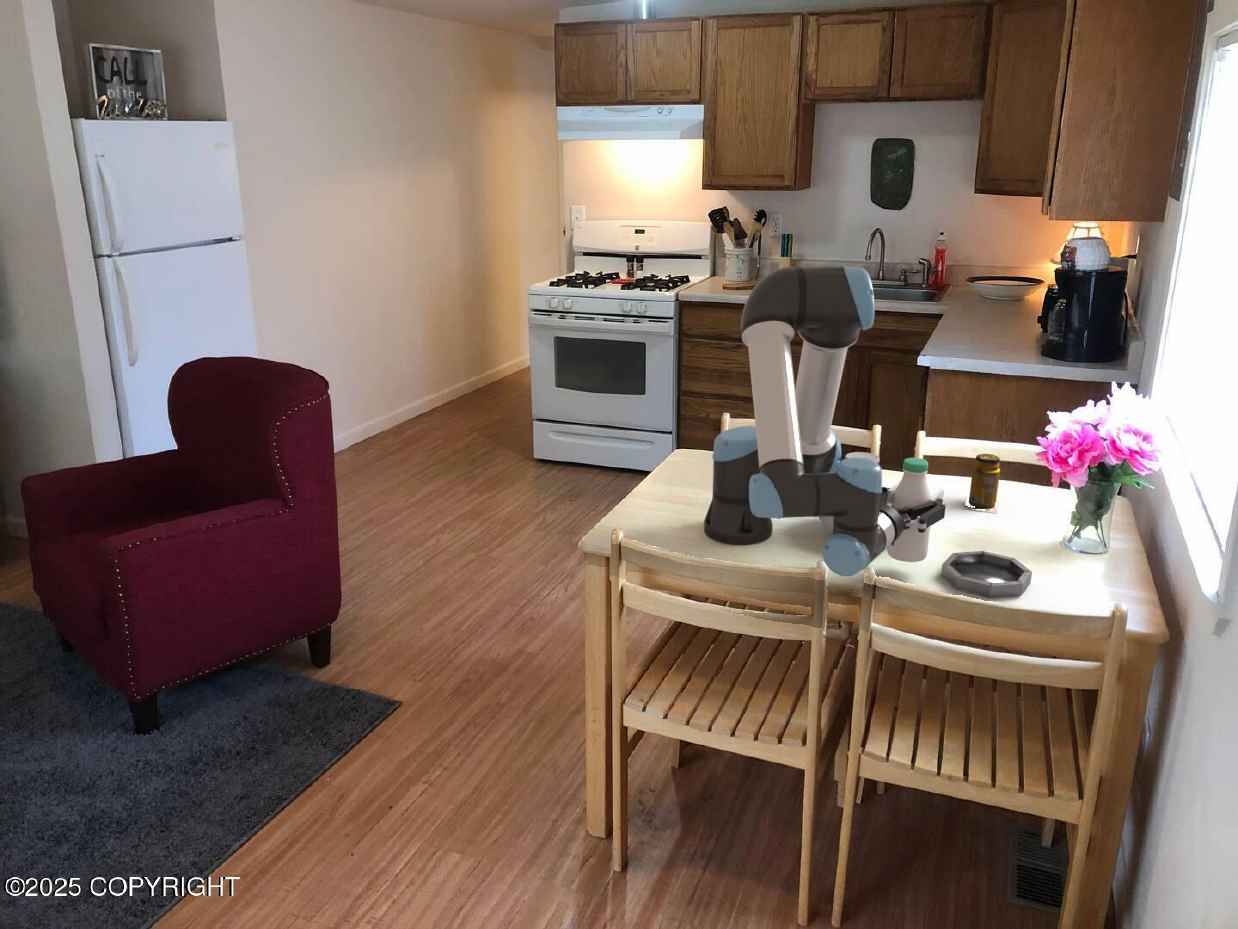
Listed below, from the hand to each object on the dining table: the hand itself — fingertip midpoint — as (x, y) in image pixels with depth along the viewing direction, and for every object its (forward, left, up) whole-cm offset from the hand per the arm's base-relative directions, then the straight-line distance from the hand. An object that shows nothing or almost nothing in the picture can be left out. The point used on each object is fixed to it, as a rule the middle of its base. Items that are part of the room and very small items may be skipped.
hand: (921, 491), depth 191 cm
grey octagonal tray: (+14, +1, -16) cm, 21 cm away
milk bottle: (0, -5, -12) cm, 13 cm away
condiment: (+1, +41, -16) cm, 44 cm away
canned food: (-24, +28, -16) cm, 40 cm away
